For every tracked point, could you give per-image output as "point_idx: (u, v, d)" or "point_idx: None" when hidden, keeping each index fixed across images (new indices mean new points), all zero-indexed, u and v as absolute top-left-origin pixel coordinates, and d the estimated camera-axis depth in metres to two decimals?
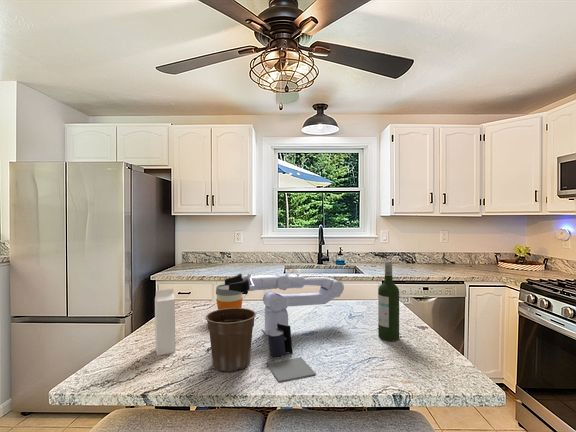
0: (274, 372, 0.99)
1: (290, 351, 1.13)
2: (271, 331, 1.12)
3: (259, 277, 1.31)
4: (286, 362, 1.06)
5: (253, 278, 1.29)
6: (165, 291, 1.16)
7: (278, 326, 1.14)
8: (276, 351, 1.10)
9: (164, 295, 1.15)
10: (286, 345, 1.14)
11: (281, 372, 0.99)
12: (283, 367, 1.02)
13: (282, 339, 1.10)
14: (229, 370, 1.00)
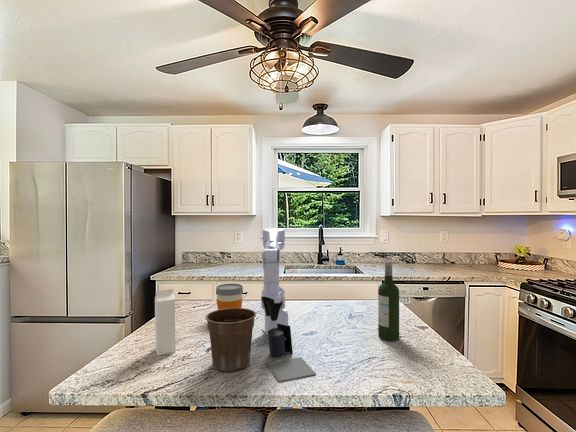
0: (274, 372, 0.99)
1: (290, 351, 1.13)
2: (271, 331, 1.12)
3: None
4: (286, 362, 1.06)
5: None
6: (165, 291, 1.16)
7: (278, 326, 1.14)
8: (276, 351, 1.10)
9: (164, 295, 1.15)
10: (286, 345, 1.14)
11: (281, 372, 0.99)
12: (283, 367, 1.02)
13: (282, 339, 1.10)
14: (229, 370, 1.00)
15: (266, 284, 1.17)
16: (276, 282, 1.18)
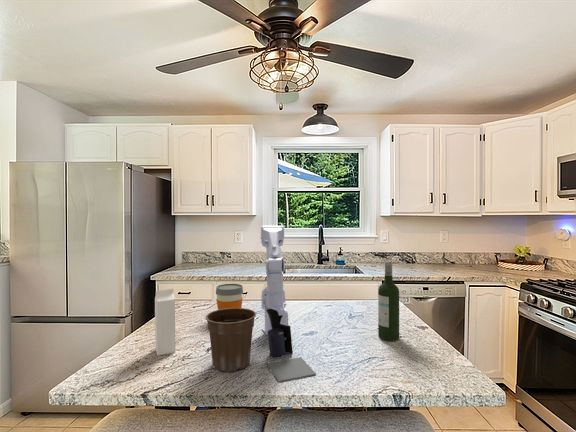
0: (274, 372, 0.99)
1: (290, 351, 1.13)
2: (271, 331, 1.12)
3: None
4: (286, 362, 1.06)
5: None
6: (165, 291, 1.16)
7: (278, 326, 1.14)
8: (276, 351, 1.10)
9: (164, 295, 1.15)
10: (286, 345, 1.14)
11: (281, 372, 0.99)
12: (283, 367, 1.02)
13: (282, 339, 1.10)
14: (229, 370, 1.00)
15: (270, 295, 1.14)
16: (280, 293, 1.14)
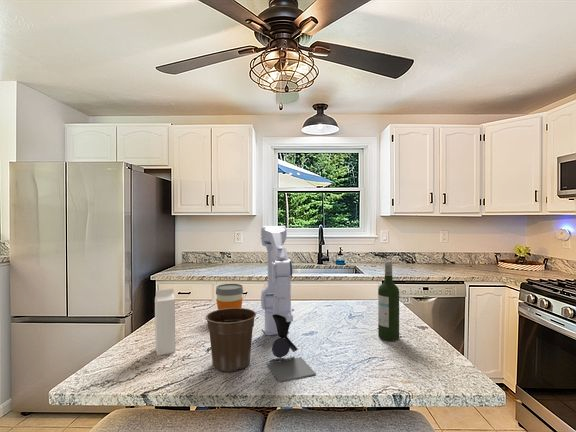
0: (274, 372, 0.99)
1: (292, 350, 1.11)
2: (277, 343, 1.04)
3: None
4: (286, 362, 1.06)
5: None
6: (165, 291, 1.16)
7: (286, 338, 1.05)
8: (277, 356, 1.08)
9: (164, 295, 1.15)
10: (290, 346, 1.10)
11: (281, 372, 0.99)
12: (283, 367, 1.02)
13: None
14: (229, 370, 1.00)
15: (277, 300, 1.06)
16: (288, 298, 1.07)
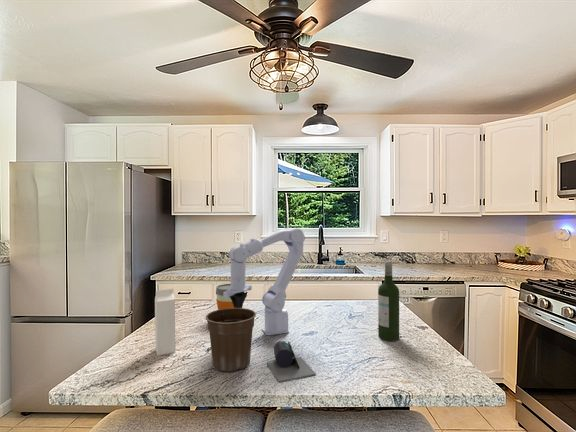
0: (274, 372, 0.99)
1: None
2: (282, 354, 1.02)
3: None
4: None
5: (245, 285, 1.27)
6: (165, 291, 1.16)
7: (292, 353, 1.02)
8: None
9: (164, 295, 1.15)
10: None
11: (281, 372, 0.99)
12: (283, 367, 1.02)
13: None
14: (229, 370, 1.00)
15: None
16: (235, 279, 1.24)
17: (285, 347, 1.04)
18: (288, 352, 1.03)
